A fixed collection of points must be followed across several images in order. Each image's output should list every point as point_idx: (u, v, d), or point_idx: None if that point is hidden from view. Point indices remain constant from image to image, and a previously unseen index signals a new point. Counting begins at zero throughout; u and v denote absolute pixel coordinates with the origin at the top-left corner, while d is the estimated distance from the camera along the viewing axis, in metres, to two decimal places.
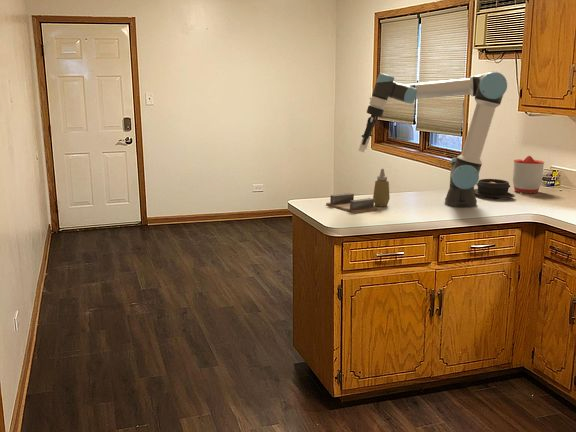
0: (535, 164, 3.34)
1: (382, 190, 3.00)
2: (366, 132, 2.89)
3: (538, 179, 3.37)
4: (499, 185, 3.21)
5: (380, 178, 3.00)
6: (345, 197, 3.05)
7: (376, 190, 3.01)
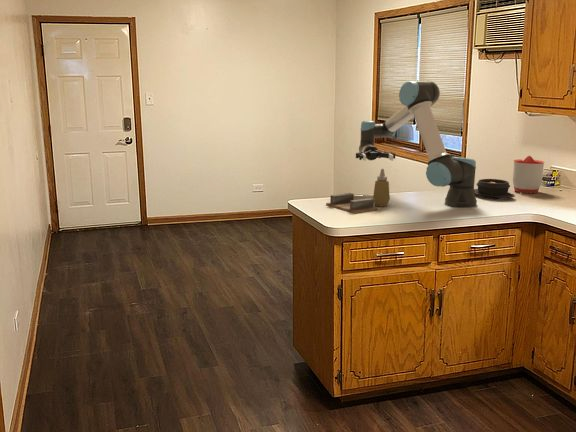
0: (535, 164, 3.34)
1: (382, 190, 3.00)
2: None
3: (538, 179, 3.37)
4: (499, 185, 3.21)
5: (380, 178, 3.00)
6: (345, 197, 3.05)
7: (376, 190, 3.01)
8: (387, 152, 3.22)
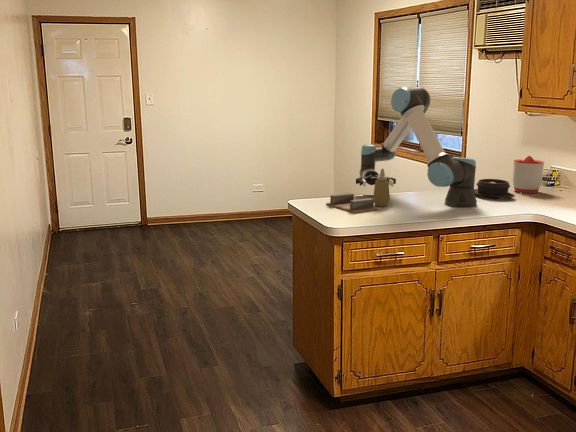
0: (535, 164, 3.34)
1: (382, 190, 3.00)
2: None
3: (538, 179, 3.37)
4: (499, 185, 3.21)
5: (380, 178, 3.00)
6: (345, 197, 3.05)
7: (376, 190, 3.01)
8: (387, 177, 3.19)
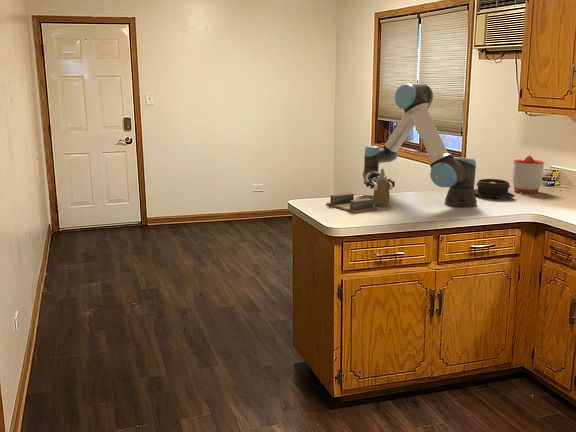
0: (535, 164, 3.34)
1: (382, 190, 3.00)
2: (366, 184, 3.07)
3: (538, 179, 3.37)
4: (499, 185, 3.21)
5: (380, 178, 3.00)
6: (345, 197, 3.05)
7: (376, 190, 3.01)
8: (389, 180, 3.11)
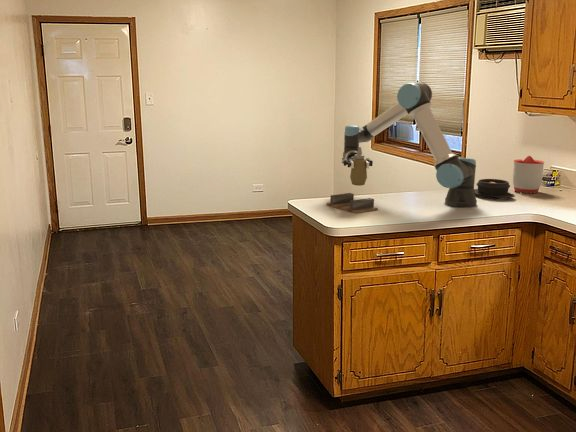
0: (535, 164, 3.34)
1: (359, 168, 2.95)
2: None
3: (538, 179, 3.37)
4: (499, 185, 3.21)
5: (357, 156, 2.96)
6: (345, 197, 3.05)
7: (353, 169, 2.97)
8: (368, 159, 3.06)
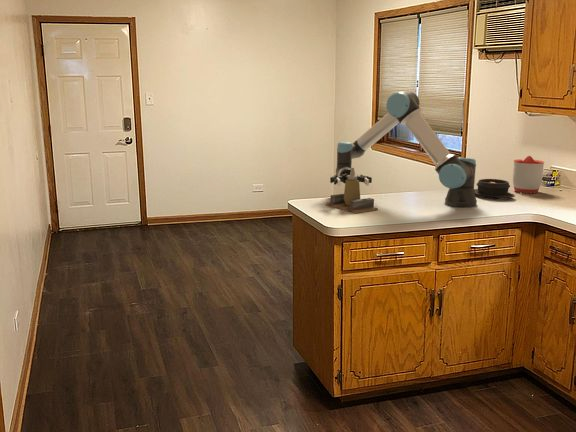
0: (535, 164, 3.34)
1: (352, 189, 2.95)
2: None
3: (538, 179, 3.37)
4: (499, 185, 3.21)
5: (350, 177, 2.95)
6: None
7: (346, 189, 2.96)
8: (363, 176, 3.06)
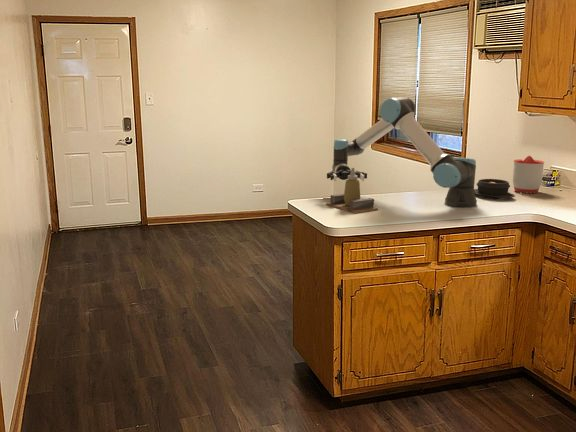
0: (535, 164, 3.34)
1: (352, 189, 2.95)
2: None
3: (538, 179, 3.37)
4: (499, 185, 3.21)
5: (350, 177, 2.95)
6: None
7: (346, 189, 2.96)
8: (359, 172, 3.18)
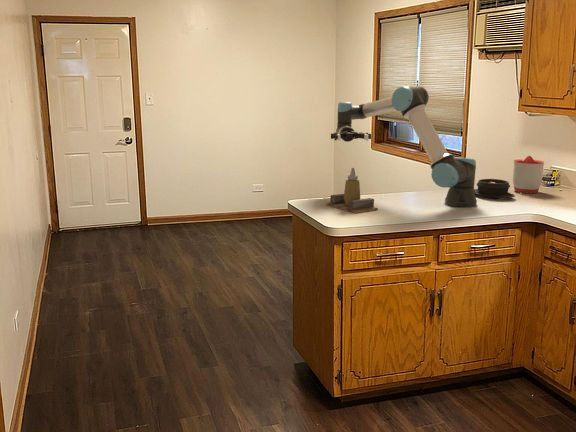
0: (535, 164, 3.34)
1: (352, 189, 2.95)
2: None
3: (538, 179, 3.37)
4: (499, 185, 3.21)
5: (350, 177, 2.95)
6: None
7: (346, 189, 2.96)
8: (363, 133, 3.17)
